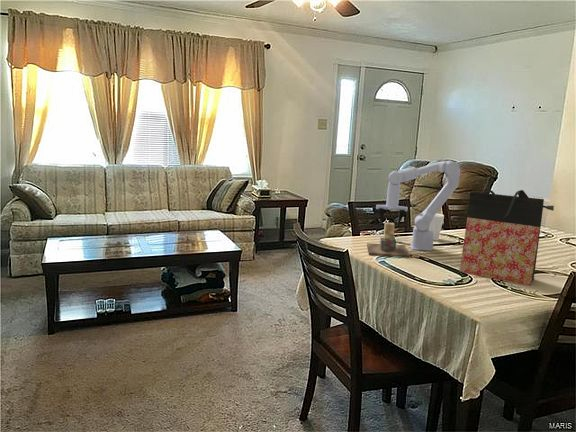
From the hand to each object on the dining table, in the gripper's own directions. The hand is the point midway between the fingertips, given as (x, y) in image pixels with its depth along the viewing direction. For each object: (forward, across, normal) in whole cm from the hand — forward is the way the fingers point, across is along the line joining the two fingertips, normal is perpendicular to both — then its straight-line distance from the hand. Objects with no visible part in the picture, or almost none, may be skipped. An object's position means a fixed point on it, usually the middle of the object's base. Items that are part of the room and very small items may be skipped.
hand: (390, 224), depth 223 cm
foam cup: (+10, +25, +21) cm, 34 cm away
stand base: (+10, -1, -10) cm, 15 cm away
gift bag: (+10, +40, -39) cm, 57 cm away
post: (+6, -1, -10) cm, 12 cm away
